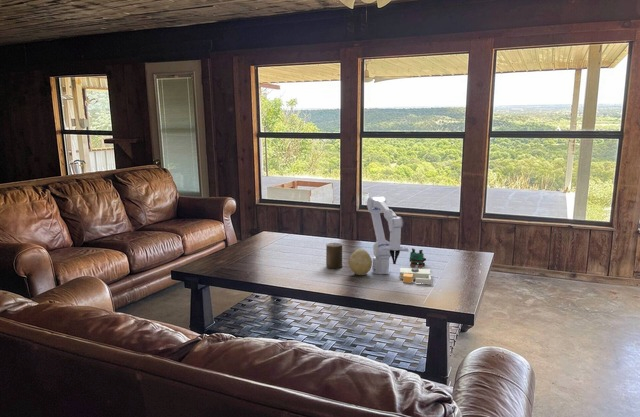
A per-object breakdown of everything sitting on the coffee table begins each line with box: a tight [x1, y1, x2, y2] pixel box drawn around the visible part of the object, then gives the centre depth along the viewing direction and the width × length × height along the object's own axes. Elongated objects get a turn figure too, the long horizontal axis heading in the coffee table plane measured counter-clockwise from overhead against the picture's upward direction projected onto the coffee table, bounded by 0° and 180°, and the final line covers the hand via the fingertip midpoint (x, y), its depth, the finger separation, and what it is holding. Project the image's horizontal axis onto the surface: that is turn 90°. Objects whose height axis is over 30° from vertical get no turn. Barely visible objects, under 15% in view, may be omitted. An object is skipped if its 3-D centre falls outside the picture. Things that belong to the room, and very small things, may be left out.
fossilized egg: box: [348, 248, 373, 276], centre depth 260 cm, size 13×13×15 cm
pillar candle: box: [325, 242, 343, 270], centre depth 275 cm, size 10×10×15 cm
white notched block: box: [399, 267, 432, 285], centre depth 253 cm, size 16×16×4 cm
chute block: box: [402, 273, 414, 283], centre depth 251 cm, size 5×5×4 cm
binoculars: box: [409, 248, 427, 268], centre depth 277 cm, size 9×11×10 cm
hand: (394, 263), depth 251 cm, fingers closed
